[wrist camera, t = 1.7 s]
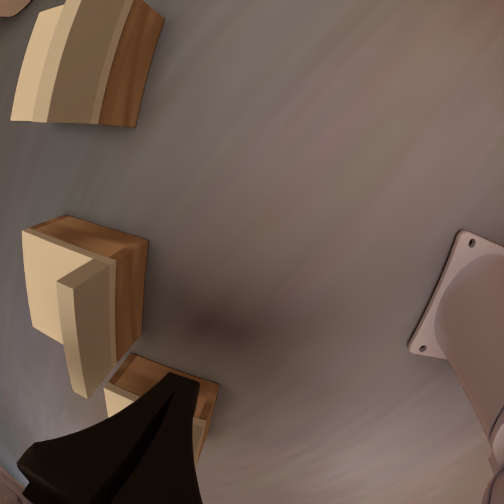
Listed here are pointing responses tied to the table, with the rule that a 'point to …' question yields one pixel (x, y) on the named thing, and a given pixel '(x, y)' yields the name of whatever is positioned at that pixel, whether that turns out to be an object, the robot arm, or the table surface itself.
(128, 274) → the crates
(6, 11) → the cup
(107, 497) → the robot arm
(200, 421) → the lid
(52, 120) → the lid
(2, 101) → the table surface
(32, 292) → the lid
